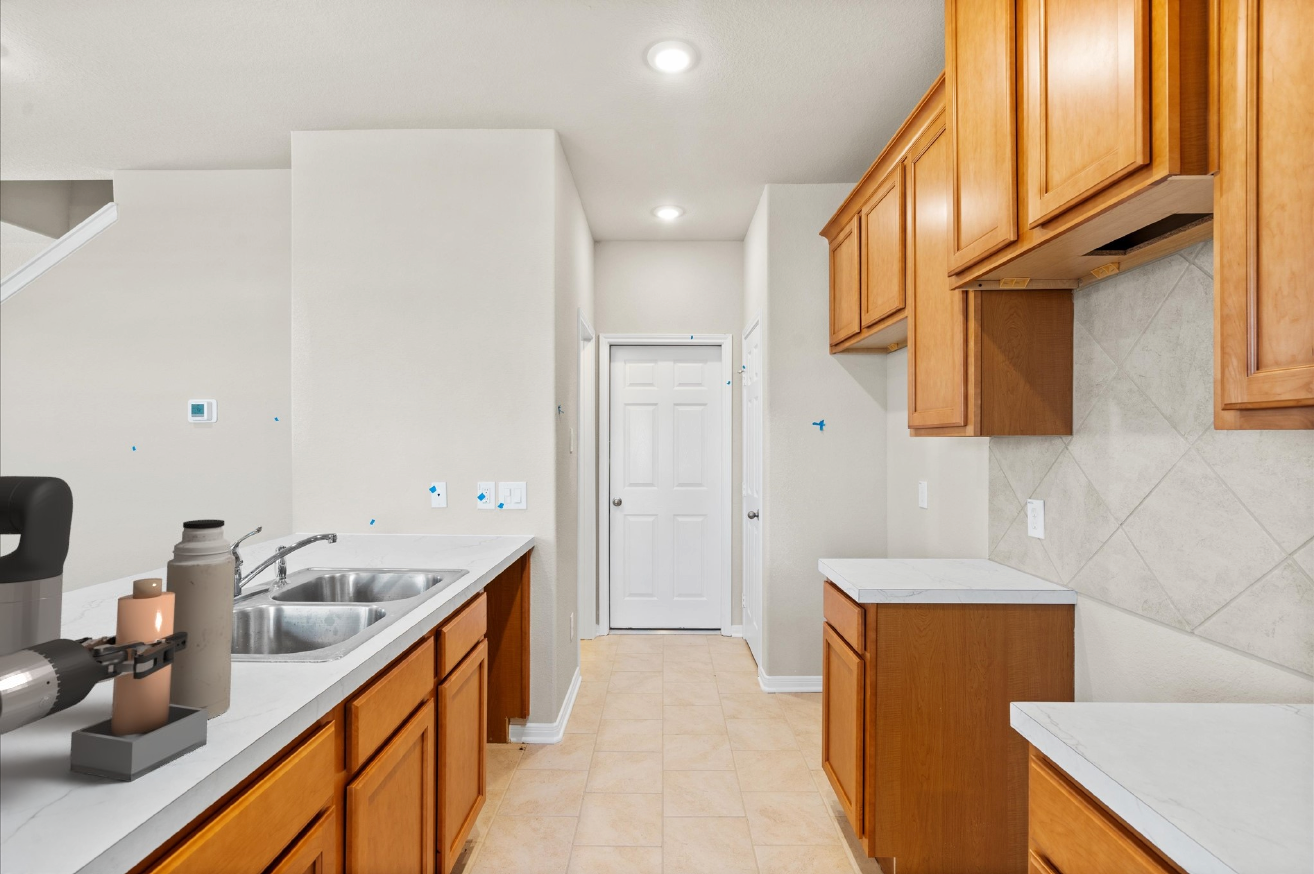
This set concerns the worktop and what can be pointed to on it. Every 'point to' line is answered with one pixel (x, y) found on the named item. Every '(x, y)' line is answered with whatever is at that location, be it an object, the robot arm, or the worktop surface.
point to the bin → (137, 745)
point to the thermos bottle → (202, 616)
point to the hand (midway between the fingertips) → (161, 638)
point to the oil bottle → (144, 620)
